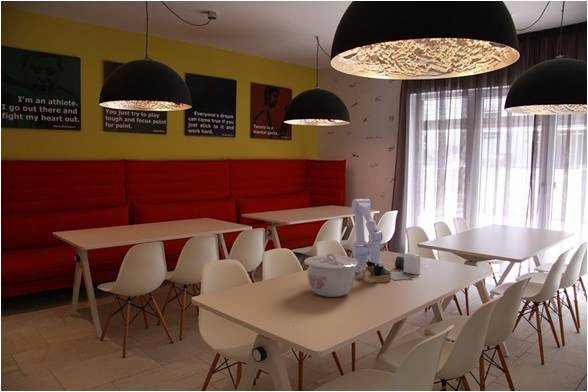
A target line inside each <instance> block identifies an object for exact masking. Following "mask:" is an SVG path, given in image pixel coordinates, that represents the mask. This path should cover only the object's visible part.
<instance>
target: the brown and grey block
mask: <svg viewBox="0 0 588 392" xmlns="http://www.w3.org/2000/svg"><path fill="white" fill-rule="evenodd" d="M366 270H367V271H369V272H370V276H375V269H374V267H373V266H370V267H368V266H367V267H366ZM380 276H383V269H382V271H381V274H380Z"/></svg>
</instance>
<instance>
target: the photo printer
mask: <svg viewBox="0 0 588 392" xmlns="http://www.w3.org/2000/svg"><path fill="white" fill-rule="evenodd" d="M403 272H404V273H408V274H411V275H416V276H419V275H420V274H421V255H419V254H417V253H415V252H405V255H404V269H403Z"/></svg>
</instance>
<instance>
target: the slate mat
mask: <svg viewBox="0 0 588 392" xmlns="http://www.w3.org/2000/svg"><path fill="white" fill-rule="evenodd" d="M407 279H408V280H412V277H409V276H407V275H406V274H403V273H401V272H399V271H397V272H391V277H390V280H391V281H395V280H396V281H404V280H405V281H406V280H407Z"/></svg>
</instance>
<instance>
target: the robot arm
mask: <svg viewBox="0 0 588 392" xmlns="http://www.w3.org/2000/svg"><path fill="white" fill-rule="evenodd" d="M371 204H372V203H371V200H370V199H369V198H354V199H353V200H352V201H351V210H352V213H353V215H354V224H355V225H354V227H355V241H354V242H353V243H352V245H351V246H352V247H351V253H352V259H355V260H357V261H358V265H356V266H354V267H353V268H354V270H355V274H356V273H357V274H359V267H361V268H363V269H365V270H366V267H370V266H373V267H374V269H375V276H380V274H381V271H382V269H383V267H384V268H385V266H384V265H383V262H382V259H381V242H382V241H383V237H384V236H383V232H382V231H381V230H380V229H379V228H378V226H377V223H376V220H374V219H373V217H372V212H371ZM364 219H365V221H366V223H365V225H364ZM364 226H366V229H367V232H368V237H367V239H368V241H369V242H367V241H366V240H365V227H364Z"/></svg>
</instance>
